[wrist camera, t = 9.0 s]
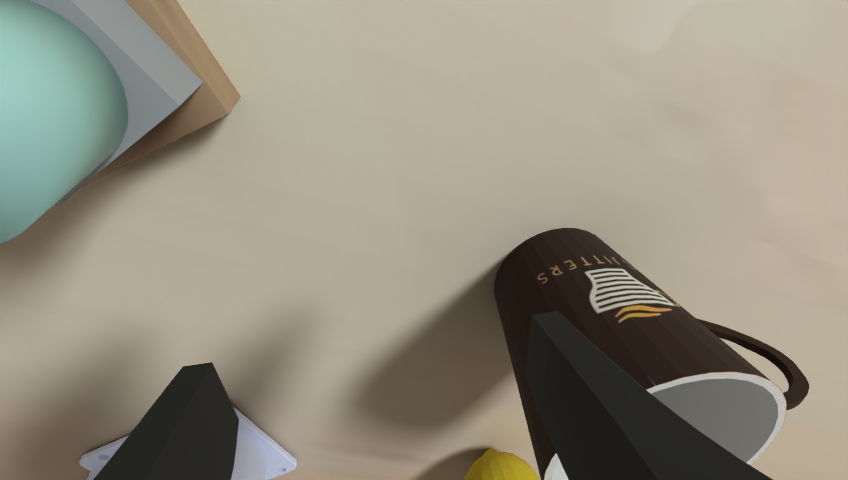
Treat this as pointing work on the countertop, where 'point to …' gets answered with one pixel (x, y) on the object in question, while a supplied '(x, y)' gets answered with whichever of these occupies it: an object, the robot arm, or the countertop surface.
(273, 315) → the countertop surface
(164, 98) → the grey square slab
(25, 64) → the teal cylinder
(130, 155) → the walnut block
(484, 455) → the lemon
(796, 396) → the coffee mug
